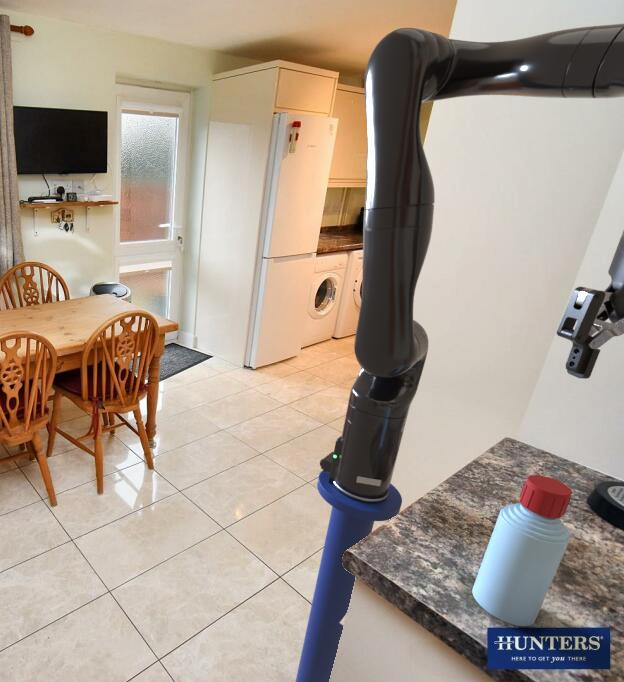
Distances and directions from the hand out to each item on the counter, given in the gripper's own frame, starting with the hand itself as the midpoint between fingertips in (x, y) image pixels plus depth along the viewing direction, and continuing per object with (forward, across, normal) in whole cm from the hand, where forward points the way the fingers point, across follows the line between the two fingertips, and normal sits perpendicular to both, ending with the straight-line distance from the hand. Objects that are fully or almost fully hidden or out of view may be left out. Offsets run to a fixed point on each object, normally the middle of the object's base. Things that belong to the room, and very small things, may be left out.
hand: (616, 378), depth 52 cm
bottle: (+31, -7, -4) cm, 32 cm away
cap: (+16, -7, -4) cm, 17 cm away
